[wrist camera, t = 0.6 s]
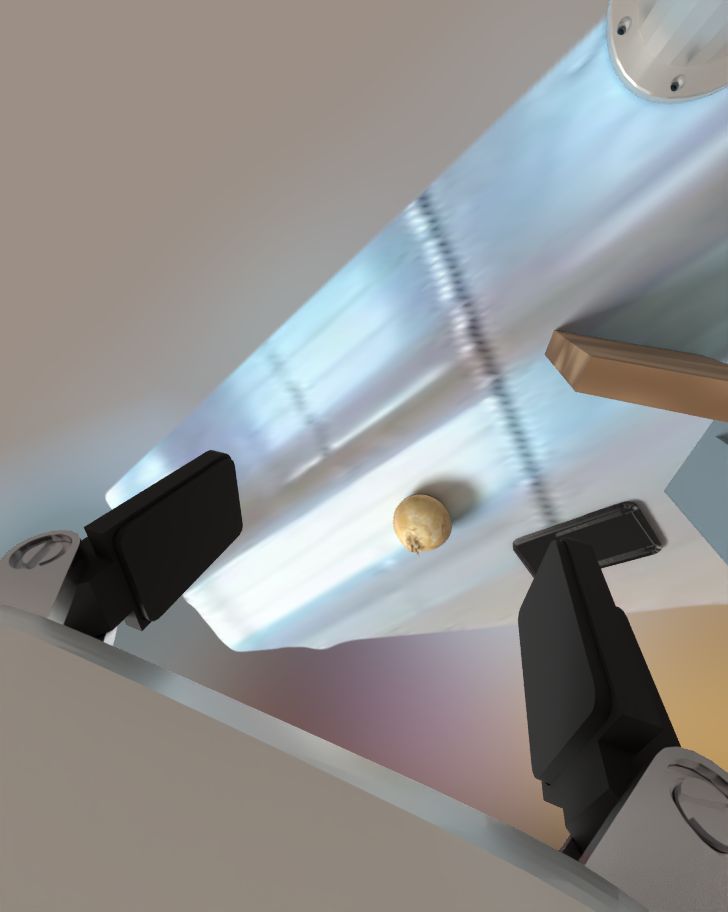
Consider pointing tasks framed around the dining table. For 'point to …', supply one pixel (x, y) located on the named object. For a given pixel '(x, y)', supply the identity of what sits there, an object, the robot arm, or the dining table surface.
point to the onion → (421, 523)
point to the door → (642, 374)
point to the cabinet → (706, 487)
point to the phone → (596, 537)
